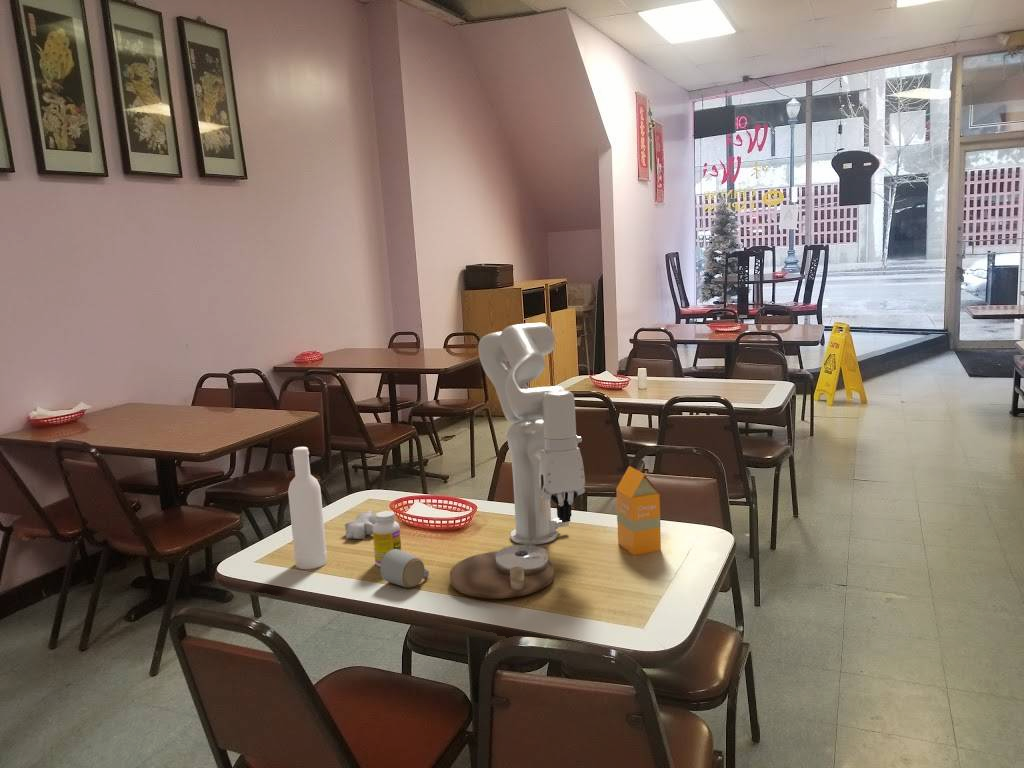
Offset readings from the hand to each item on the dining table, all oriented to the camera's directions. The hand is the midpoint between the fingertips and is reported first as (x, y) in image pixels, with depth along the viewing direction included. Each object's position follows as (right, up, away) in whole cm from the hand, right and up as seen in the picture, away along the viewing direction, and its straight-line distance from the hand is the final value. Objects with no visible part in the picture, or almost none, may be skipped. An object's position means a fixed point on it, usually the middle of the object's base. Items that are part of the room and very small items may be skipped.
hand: (564, 520), depth 182 cm
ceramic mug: (-37, -15, -1) cm, 40 cm away
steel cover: (-10, -10, -2) cm, 15 cm away
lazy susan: (-15, -13, -3) cm, 20 cm away
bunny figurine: (-53, -10, +35) cm, 65 cm away
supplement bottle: (-43, -13, +11) cm, 46 cm away
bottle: (-63, -14, +14) cm, 66 cm away
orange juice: (+20, -9, +14) cm, 26 cm away
